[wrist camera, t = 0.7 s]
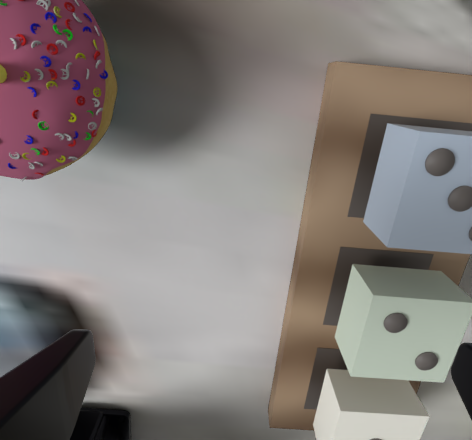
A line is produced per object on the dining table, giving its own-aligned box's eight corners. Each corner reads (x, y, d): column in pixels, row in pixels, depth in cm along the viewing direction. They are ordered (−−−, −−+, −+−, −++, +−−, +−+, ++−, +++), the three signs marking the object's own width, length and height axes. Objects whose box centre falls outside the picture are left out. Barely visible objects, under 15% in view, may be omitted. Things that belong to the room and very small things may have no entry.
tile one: (384, 428, 23) (405, 477, 21) (312, 424, 23) (324, 473, 20) (404, 373, 22) (430, 418, 19) (326, 368, 21) (341, 413, 19)
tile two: (415, 342, 21) (445, 384, 18) (334, 336, 21) (351, 378, 18) (441, 271, 19) (479, 304, 16) (352, 263, 19) (374, 297, 16)
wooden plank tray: (391, 417, 27) (400, 436, 26) (267, 409, 27) (269, 428, 25) (513, 82, 18) (537, 81, 17) (328, 63, 18) (336, 61, 16)
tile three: (455, 229, 18) (498, 257, 15) (363, 221, 18) (388, 248, 15) (490, 133, 16) (547, 143, 13) (387, 123, 16) (421, 131, 13)
